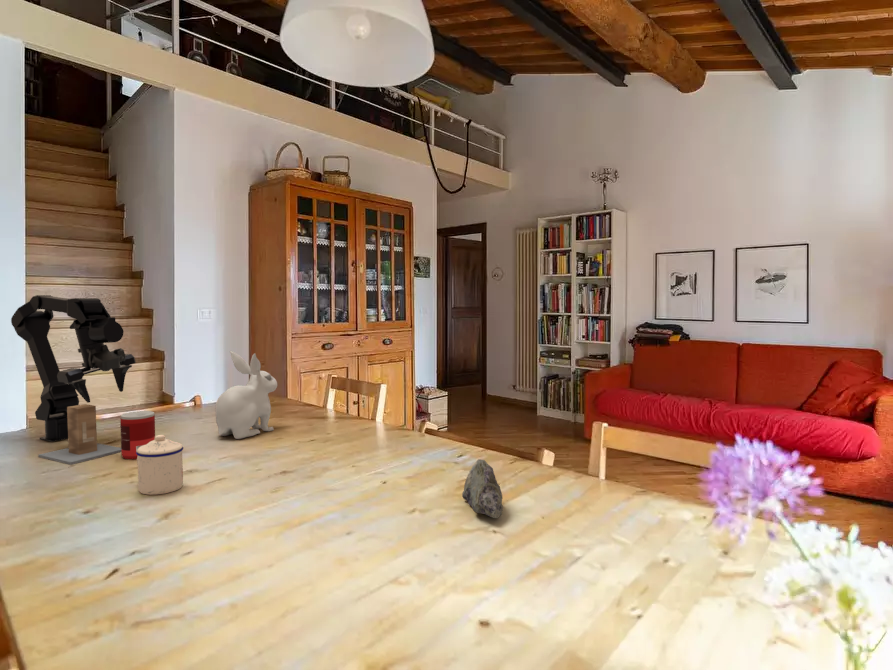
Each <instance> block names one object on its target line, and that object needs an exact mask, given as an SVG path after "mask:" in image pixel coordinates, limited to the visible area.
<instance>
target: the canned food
mask: <svg viewBox="0 0 893 670" xmlns="http://www.w3.org/2000/svg"><path fill="white" fill-rule="evenodd" d="M155 416H156V415H155V412H154V411H151V410H139V411H130V412H125V413H122V414H121V415H120V416H119V417H120V419H119V420H120V421H119V422H120V424H119V425H120V448H121V452H120V454H121V457H122V458H123V459H125V460H137V456H138V455H137V454H136V452H137V449H138V448H139V447H141V446H143V445H146V444H148V443H149V442H151V441H153V440H155V436H156V418H155Z"/></svg>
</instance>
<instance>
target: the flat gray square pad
mask: <svg viewBox="0 0 893 670" xmlns="http://www.w3.org/2000/svg"><path fill="white" fill-rule="evenodd" d="M118 453H121V447H119V446H118V447H117V446H114V445H113V446H112V445H108V444H104V443H98V442H97V451H94V452H89V453H85V454H81V455H77V454H73V453H69V447H67V448H62V449H57V450H53V451H49V452H44V453H39V454H37V457H38V458H41V459H46V460H50V461H53V462H54V461H55V462H59V463H63V464H67V465H70V466H71V465H75V464H79V463H82V462H86V461H90V460H95V459H98V458H99V459H100V458H102V457H103V458H104V457H106V456H110V455H115V454H118Z"/></svg>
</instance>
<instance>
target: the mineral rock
mask: <svg viewBox="0 0 893 670" xmlns="http://www.w3.org/2000/svg"><path fill="white" fill-rule="evenodd" d="M461 497H462V498H463V500H464V501H467V504H468V505H469V506H470V507H471V508H472V511H473V512H475V513H476V514H483V515H486V516H487V517H491V518H493V519H498V518H499V517H500V516H502V515H503V511H504V505H503V494H502V490H501V486H500V485H499V483H498V481H497V477H496V475H495V472H494V468H493V467H492V466H491V465H490V464H488V462H487V461H486V460H485V459H481V458H478V459H477V461H476V462H475V463H474V464H473V465H472V467H471V469H470V470H469V473H467V476H466V479H465V483H464V487H463V491H462V496H461Z"/></svg>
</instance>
